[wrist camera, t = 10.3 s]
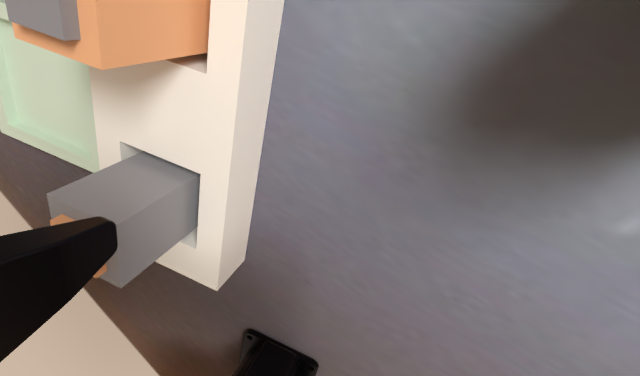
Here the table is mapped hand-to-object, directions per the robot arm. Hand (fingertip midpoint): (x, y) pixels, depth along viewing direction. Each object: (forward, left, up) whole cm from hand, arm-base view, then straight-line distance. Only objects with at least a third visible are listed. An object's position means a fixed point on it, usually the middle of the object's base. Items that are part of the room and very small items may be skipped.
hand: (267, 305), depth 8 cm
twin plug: (-7, +11, -12) cm, 18 cm away
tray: (-4, +23, -12) cm, 26 cm away
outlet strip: (-1, +11, -12) cm, 17 cm away
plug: (+4, +11, -12) cm, 17 cm away
